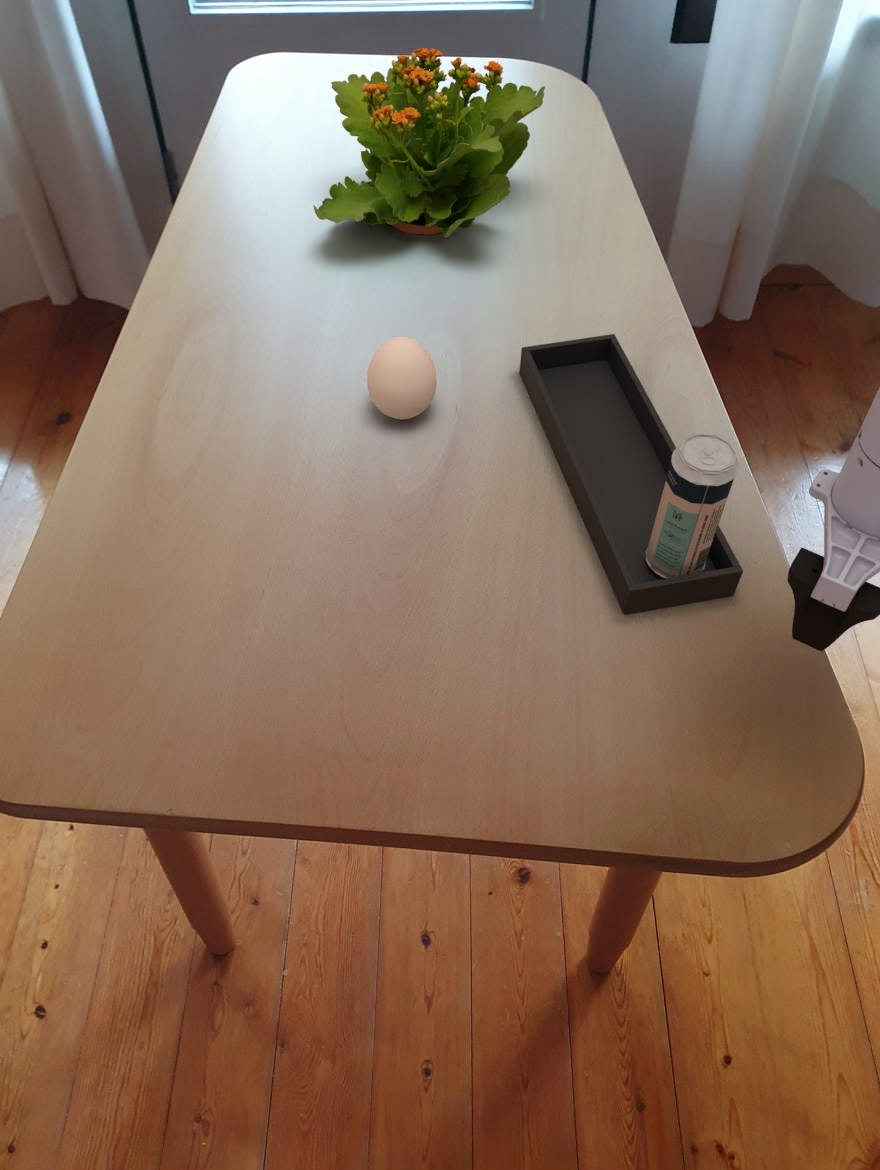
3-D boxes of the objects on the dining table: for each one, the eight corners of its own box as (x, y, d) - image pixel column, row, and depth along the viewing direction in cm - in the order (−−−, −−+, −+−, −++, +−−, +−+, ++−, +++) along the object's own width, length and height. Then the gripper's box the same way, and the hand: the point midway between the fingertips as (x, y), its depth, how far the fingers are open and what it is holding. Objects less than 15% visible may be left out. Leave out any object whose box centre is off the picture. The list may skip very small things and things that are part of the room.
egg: (392, 382, 95) (389, 311, 88) (449, 404, 92) (450, 333, 86) (355, 420, 91) (350, 349, 85) (413, 443, 89) (412, 373, 83)
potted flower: (343, 152, 121) (332, -7, 107) (536, 158, 119) (550, -3, 105) (313, 269, 106) (296, 103, 92) (532, 277, 104) (549, 109, 90)
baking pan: (733, 595, 78) (743, 571, 76) (623, 615, 77) (630, 590, 75) (609, 359, 96) (614, 333, 93) (519, 372, 95) (521, 347, 93)
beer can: (701, 542, 81) (738, 431, 71) (706, 587, 78) (746, 477, 68) (642, 539, 81) (671, 428, 71) (645, 583, 78) (676, 473, 69)
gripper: (883, 351, 58) (811, 511, 69) (792, 496, 51) (727, 649, 62) (1006, 393, 56) (911, 552, 67) (928, 552, 49) (836, 700, 60)
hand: (830, 602), depth 64 cm, fingers open, 7 cm apart
